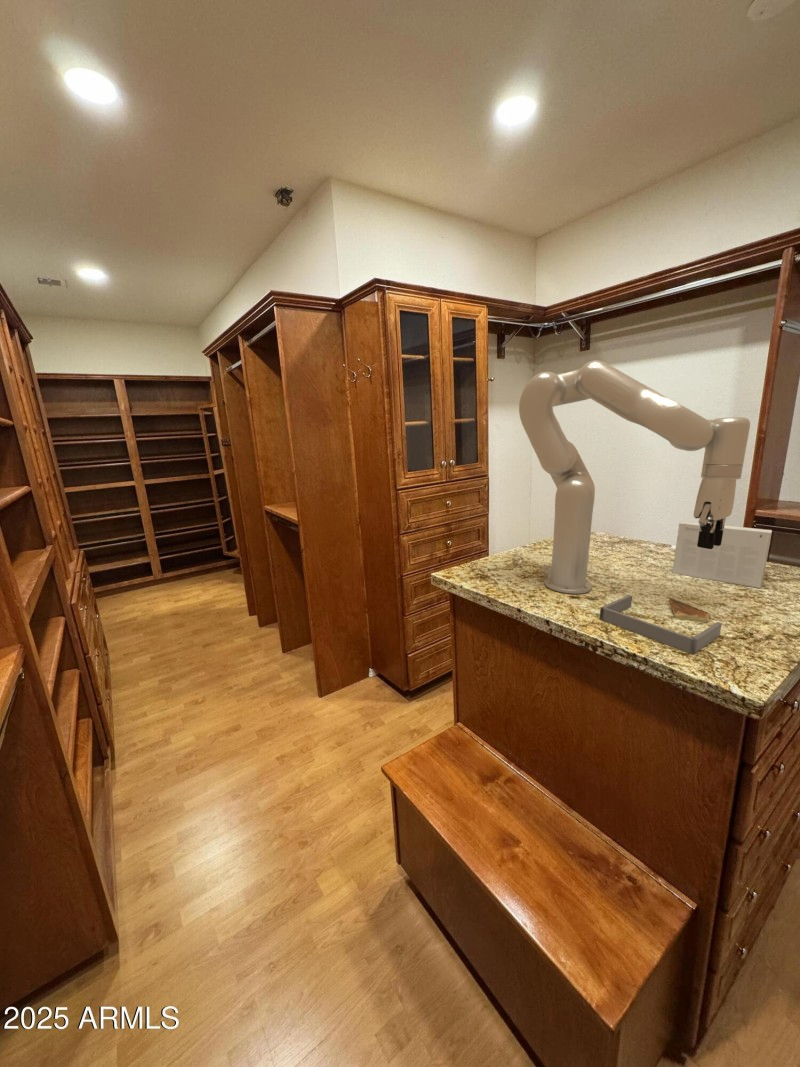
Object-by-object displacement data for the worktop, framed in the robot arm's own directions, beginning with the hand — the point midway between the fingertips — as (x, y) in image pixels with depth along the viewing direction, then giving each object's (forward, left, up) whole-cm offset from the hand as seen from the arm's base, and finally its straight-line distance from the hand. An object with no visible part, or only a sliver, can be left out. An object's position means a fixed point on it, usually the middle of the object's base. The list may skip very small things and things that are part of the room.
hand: (708, 545), depth 101 cm
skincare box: (-5, +24, -16) cm, 29 cm away
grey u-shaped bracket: (0, -22, -15) cm, 27 cm away
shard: (0, -10, -16) cm, 19 cm away
